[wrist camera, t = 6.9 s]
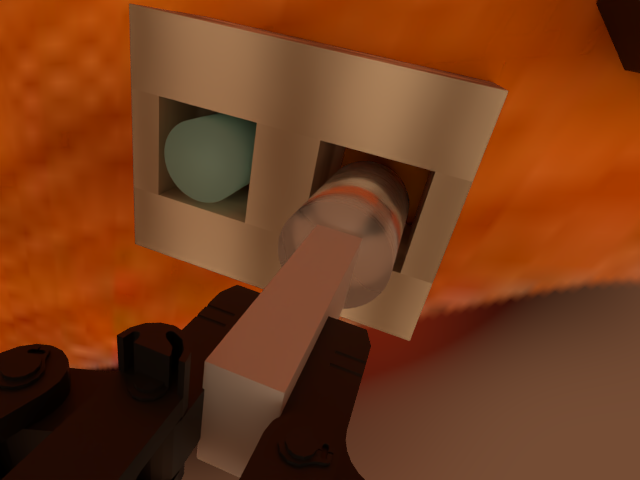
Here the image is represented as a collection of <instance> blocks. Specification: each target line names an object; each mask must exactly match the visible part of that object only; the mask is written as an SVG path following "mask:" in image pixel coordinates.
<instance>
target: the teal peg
mask: <svg viewBox="0 0 640 480" xmlns="http://www.w3.org/2000/svg"><path fill="white" fill-rule="evenodd" d="M256 126H257V123H256V122H252V121H249V120H245V119H241V118H238V117H234V116H230V115H227V114H223V113H216V114H212V115H208V116H203V117H199V118H195V119H190V120H186V121H183V122H181V123H179V124H178V125H176V126H175V127H174V128H173V129H172V130H171V132H170V133H169V135H168V137H167V139H166V143H165V149H164V156H165V163H166V167H167V170H168V172H169V174H170V176H171V178H172V180H173V181H174V183H175V184H176V185H177V187H178V188H179V189H180V190H181V191H182V192H183V193H185V194H186V195H187V196H189V197H190V198H192V199H194V200H197V201H200V202H205V203H214V202H218V201H221V200H223V199H225V198H226V197H228V196H230V195H231V194H233V193H235V192H236V191H238V190H239V189H241V188H243V187H244V186H246V185H248V184H249V183H250V176H251V168H252V160H253V151H254V143H255V135H256Z"/></svg>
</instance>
